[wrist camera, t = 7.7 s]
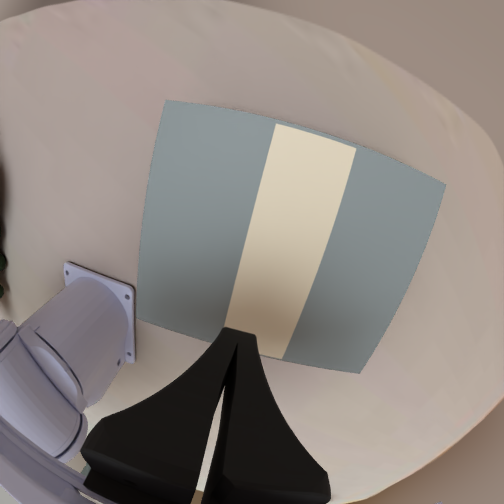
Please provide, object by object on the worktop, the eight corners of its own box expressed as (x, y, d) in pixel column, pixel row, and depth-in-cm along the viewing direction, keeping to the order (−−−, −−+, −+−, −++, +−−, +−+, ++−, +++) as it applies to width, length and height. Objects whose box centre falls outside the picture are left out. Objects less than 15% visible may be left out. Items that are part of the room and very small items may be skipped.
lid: (357, 367, 15) (360, 374, 15) (140, 312, 15) (135, 319, 15) (440, 183, 11) (447, 184, 10) (170, 102, 11) (164, 99, 10)
